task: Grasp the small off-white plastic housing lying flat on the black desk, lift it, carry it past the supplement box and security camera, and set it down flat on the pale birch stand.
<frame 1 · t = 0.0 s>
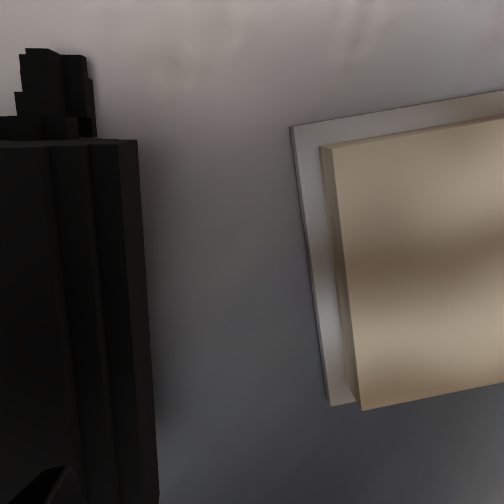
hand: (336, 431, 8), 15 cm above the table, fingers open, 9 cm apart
security camera: (84, 271, 22), on the table
stand: (418, 252, 23), on the table
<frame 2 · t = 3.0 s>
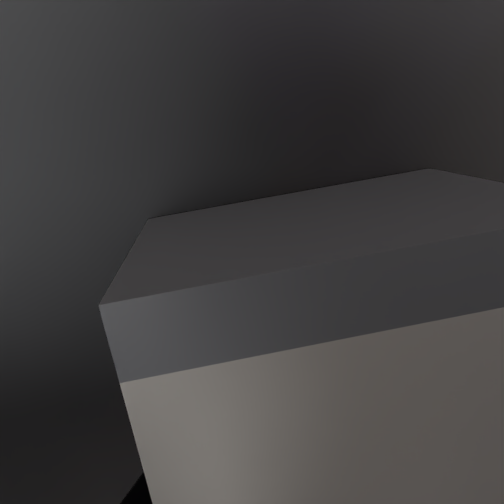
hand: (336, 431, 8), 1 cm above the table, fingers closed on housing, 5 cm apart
housing: (319, 392, 9), on the table, touching gripper
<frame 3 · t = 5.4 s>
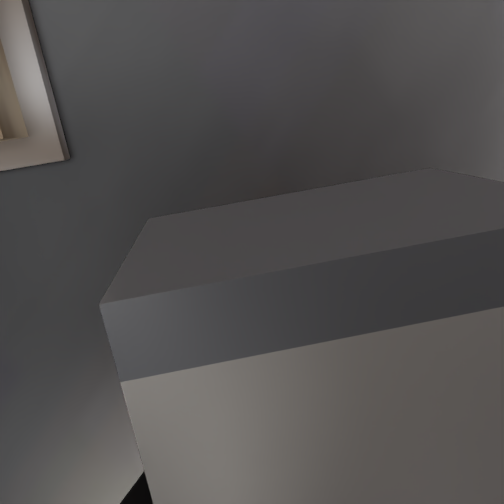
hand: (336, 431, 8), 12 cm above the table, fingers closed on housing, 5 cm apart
housing: (319, 392, 9), point 11 cm above the table, touching gripper
when the fingers open (5 cm above the table, at t = 8.1 s): housing drops 1 cm, resting on stand.
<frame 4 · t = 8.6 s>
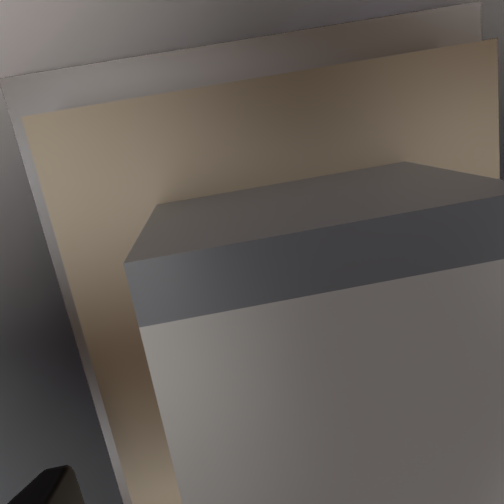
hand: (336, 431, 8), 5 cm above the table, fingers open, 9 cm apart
stand: (284, 310, 13), on the table
housing: (308, 362, 10), point 3 cm above the table, touching stand
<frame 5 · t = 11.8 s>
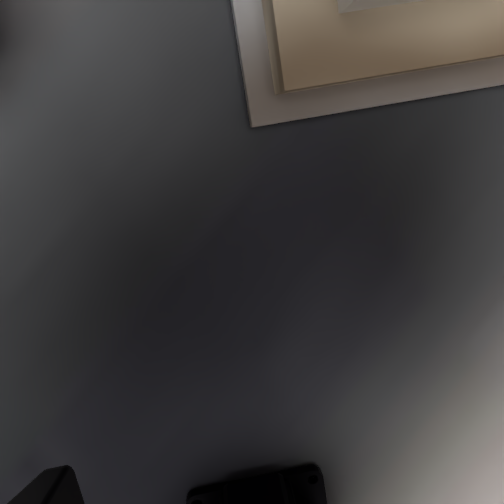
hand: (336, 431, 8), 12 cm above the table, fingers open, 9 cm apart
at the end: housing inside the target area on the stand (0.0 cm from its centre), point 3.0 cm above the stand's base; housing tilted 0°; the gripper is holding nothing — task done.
